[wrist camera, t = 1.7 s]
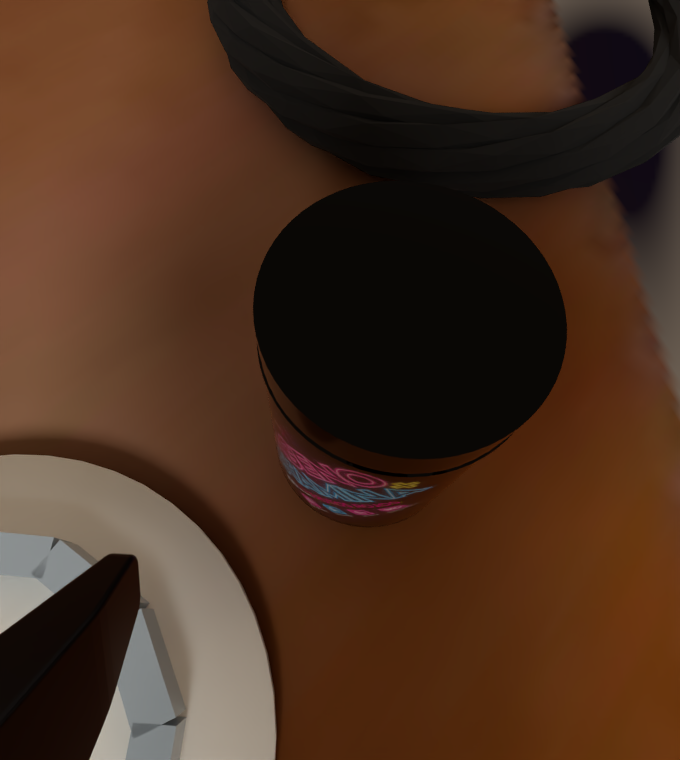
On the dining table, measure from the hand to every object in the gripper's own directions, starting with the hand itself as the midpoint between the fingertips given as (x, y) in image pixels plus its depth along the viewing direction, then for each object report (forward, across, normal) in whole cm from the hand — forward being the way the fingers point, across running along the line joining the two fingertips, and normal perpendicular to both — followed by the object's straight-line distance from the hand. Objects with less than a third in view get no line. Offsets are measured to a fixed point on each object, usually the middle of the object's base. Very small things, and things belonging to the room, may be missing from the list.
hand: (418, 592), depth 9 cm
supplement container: (+12, 0, +4) cm, 13 cm away
